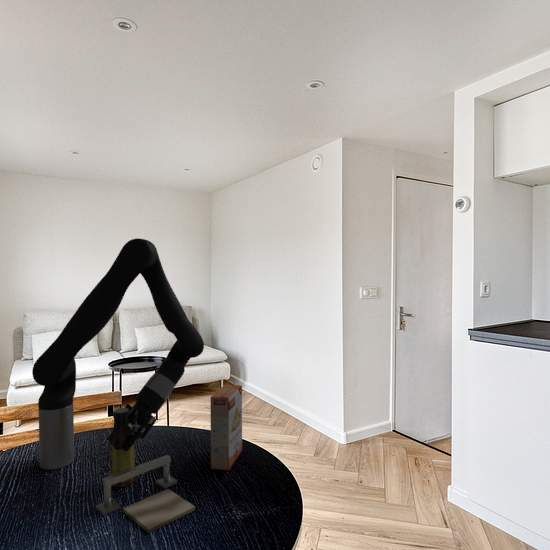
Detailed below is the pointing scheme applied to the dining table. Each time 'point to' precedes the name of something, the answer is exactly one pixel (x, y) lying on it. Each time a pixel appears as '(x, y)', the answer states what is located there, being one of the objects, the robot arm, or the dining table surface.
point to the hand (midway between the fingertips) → (116, 445)
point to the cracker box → (226, 426)
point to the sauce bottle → (118, 456)
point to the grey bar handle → (165, 482)
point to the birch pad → (158, 510)
